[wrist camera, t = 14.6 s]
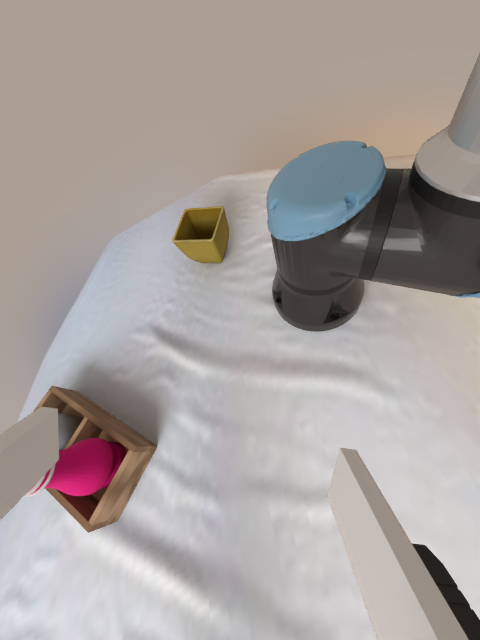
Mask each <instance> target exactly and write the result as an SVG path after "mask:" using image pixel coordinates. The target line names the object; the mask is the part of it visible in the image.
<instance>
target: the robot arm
mask: <svg viewBox="0 0 480 640" xmlns="http://www.w3.org/2000/svg"><path fill="white" fill-rule="evenodd" d="M267 213H268V223H267V224H268V229H269V231H270V233H271V238H272V243H273V248H274V253H275V258H276V263H277V268H278V269H277V272H276V275H275V278H274V282H273V287H272V294H273V299H274V303H275V306H276V309H277V311H278V313H279V314H280V315H281V316H282V318H283V319H284V320H286V321H287V322H288V323H290V324H291V325H293V326H295V327H297V328H300V329H303V330H307V331H326V330H330V329H334V328H336V327H339V326H341V325H343V324H344V323H346V322H347V321H348V320H350V319H351V318H352V317H353V316H354V314H355V313H356V312H357V310H358V308H359V306H360V303H361V300H362V297H363V292H364V283H363V279H364V280H370V281H375V282H380V283H386V284H392V285H397V286H403V287H408V288H414V289H419V290H425V291H431V292H436V293H442V294H447V295H450V296H456V297H463V298H466V297H475V298H480V54H479V56H478V58H477V61H476V63H475V66H474V68H473V70H472V73H471V75H470V78H469V80H468V82H467V85H466V87H465V90H464V92H463V94H462V97H461V99H460V102H459V104H458V106H457V109H456V111H455V114H454V116H453V119H452V121H451V123H450V125H449V126H448V127H446V128H445V129H443V130H442V131H440V132H439V133H437V134H436V135H435V136H433V137H431V138H430V139H428V140H427V141H426V142H425V143H424V144H423V145H422V146H421V148H420V149H419V151H418V153H417V155H416V158H415V161H414V163H413V166H412V169H387V168H386V167H385V164H384V160H383V157H382V155H381V153H380V152H379V151H378V150H377V149H376V148H375V147H373V146H371V147H367V146H366V144H365V143H363V142H357V141H340V142H333V143H329V144H325V145H321V146H319V147H316V148H313V149H311V150H309V151H307V152H305V153H303V154H301V155H300V156H298V157H297V158H296V159H294V160H292V161H291V162H289V163H288V164H287V165H285V166H284V167H283V168H282V169H281V170H280V171H279V173H278V174H277V175H276V177H275V178H274V179H273V181H272V183H271V185H270V187H269V190H268V194H267ZM58 460H59V438H58V409H56V408H48V407H40V408H38V409H37V410H35V411H34V412H33V413H31V414H30V415H28V416H27V417H25V418H24V419H22V420H21V421H19V422H18V423H17V424H15V425H14V426H12V427H11V428H9V429H8V430H6V431H5V432H3V433H2V434H1V435H0V520H1V519H2V518H3V517H4V516H5V515H6V514H7V513H8V512H9V511H10V510H11V509H12V508H13V507H14V506H15V505H16V504H17V502H18V501H19V500H20V499H21V498H22V497H23V496H24V495H25V494H26V493H27V492H28V491H29V490H30V489H31V488H32V487H33V486H34V485H35V484H36V483H37V482H38V481H39V480H40V479H41V478H42V477H43V476H44V475H45V473H46V472H47V471H48V470H49V469H50V468H51V467H52V466H53V465H54V464H55V463H56V462H57V461H58ZM327 497H328V500H329V503H330V506H331V509H332V511H333V514H334V517H335V520H336V523H337V526H338V529H339V532H340V534H341V537H342V540H343V543H344V546H345V549H346V552H347V554H348V557H349V560H350V563H351V566H352V569H353V572H354V575H355V577H356V580H357V583H358V586H359V589H360V592H361V595H362V597H363V600H364V603H365V606H366V609H367V612H368V615H369V618H370V620H371V623H372V626H373V629H374V632H375V635H376V638H377V640H480V620H479V618H478V617H477V615H476V614H475V612H474V611H473V610H471V608H470V605H469V603H468V602H467V600H466V599H465V597H464V596H463V594H462V592H461V591H460V590H458V588H457V585H456V583H455V582H454V580H453V579H452V577H451V576H450V574H449V573H448V571H447V570H446V568H445V567H444V565H443V564H442V563H441V562H440V561H439V560H438V558H437V557H436V556H435V555H434V554H433V553H432V552H431V551H430V550H429V549H428V548H427V547H426V546H425V545H419V544H412V543H411V541H410V540H409V538H408V536H407V535H406V533H405V531H404V530H403V528H402V526H401V525H400V523H399V521H398V520H397V518H396V516H395V515H394V513H393V511H392V509H391V508H390V506H389V504H388V503H387V501H386V499H385V498H384V496H383V494H382V493H381V491H380V489H379V488H378V486H377V484H376V482H375V481H374V479H373V477H372V476H371V474H370V472H369V471H368V469H367V467H366V466H365V464H364V462H363V461H362V459H361V457H360V456H359V454H358V452H357V450H352V449H345V448H340V449H339V453H338V457H337V461H336V465H335V468H334V472H333V476H332V480H331V484H330V488H329V491H328V495H327Z"/></svg>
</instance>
